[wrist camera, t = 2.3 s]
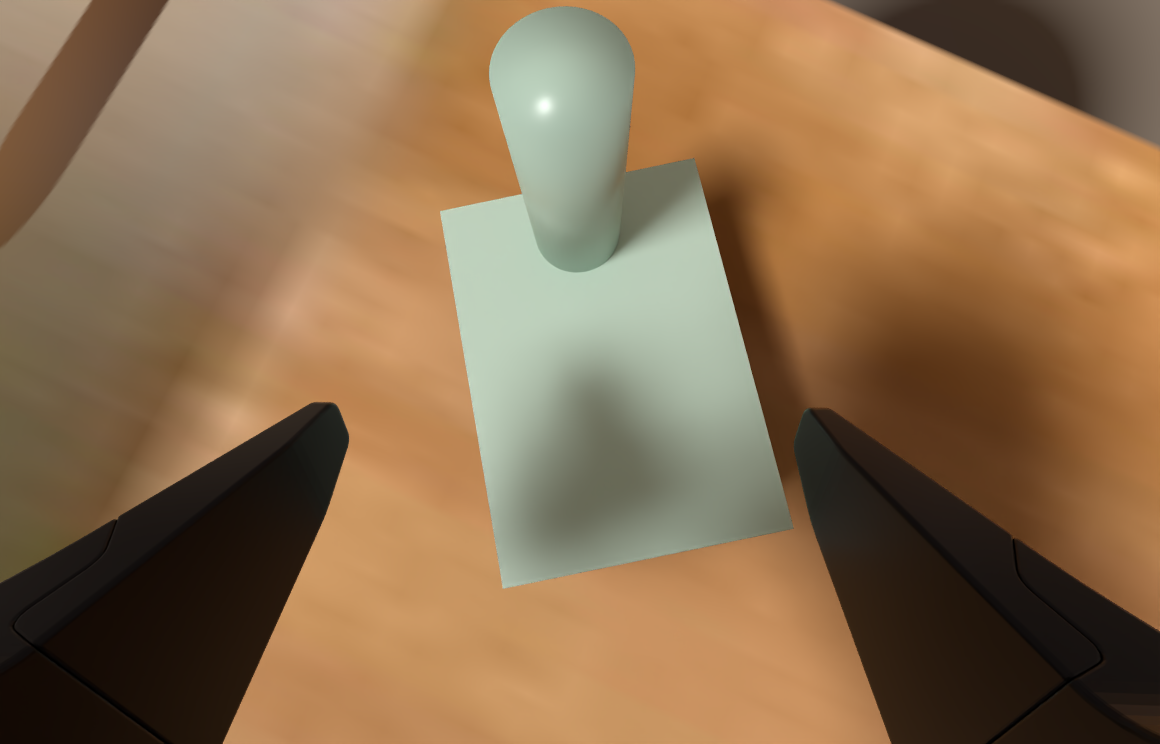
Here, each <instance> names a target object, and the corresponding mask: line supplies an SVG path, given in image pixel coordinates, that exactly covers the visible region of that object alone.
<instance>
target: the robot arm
mask: <svg viewBox="0 0 1160 744" xmlns="http://www.w3.org/2000/svg"><path fill="white" fill-rule="evenodd" d="M348 444H349V434H348V431H347V428H346V426H345V423H344V421H343V418H342V416H341V413H340V410H339V408H338V406H337V405H336V404H334V403H331V402H314V403H311V404H309V405H307V406H305V407H304V408H302V409H300V410H299V411H297V412H295V413H294V414H292V415H290V416H288V417H287V418H285V419H283V420H282V421H280V422H278V423H277V424H275V425H273V426H271V427H270V428H268V429H266V430H265V431H263V432H261V433H260V434H258V435H256V436H255V437H253V438H251V439H249V440H248V441H246V442H244V443H243V444H241V445H239V446H238V447H236V448H234V449H232V450H231V451H229V452H227V453H226V454H224V455H222V456H221V457H219V458H217V459H215V460H214V461H212V462H210V463H209V464H207V465H205V466H204V467H202V468H200V469H198V470H197V471H195V472H193V473H192V474H190V475H188V476H187V477H185V478H183V479H181V480H180V481H178V482H176V483H175V484H173V485H171V486H170V487H168V488H166V489H164V490H163V491H161V492H159V493H158V494H156V495H154V496H153V497H151V498H149V499H147V500H146V501H144V502H142V503H141V504H139V505H137V506H136V507H134V508H132V509H130V510H129V511H127V512H125V513H124V514H122V515H120V516H119V517H118V520H117V519H114V520H112V521H110V522H108V523H106V524H105V525H103V526H101V527H100V528H98V529H96V530H95V531H93V532H91V533H90V534H88V535H86V536H84V537H83V538H81V539H79V540H77V541H76V542H74V543H72V544H70V545H69V546H67V547H65V548H63V549H62V550H60V551H58V552H56V553H55V554H53V555H51V556H49V557H48V558H46V559H44V560H42V561H40V562H38V563H36V564H35V565H33V566H31V567H29V568H27V569H25V570H24V571H22V572H20V573H18V574H16V575H14V576H12V577H11V578H9V579H7V580H5V581H3V582H1V583H0V744H223V741H224V739H225V737H226V735H227V733H228V730H229V728H230V726H231V724H232V722H233V719H234V717H235V715H236V713H237V710H238V708H239V706H240V704H241V702H242V699H243V697H244V695H245V693H246V690H247V688H248V686H249V684H250V682H251V679H252V677H253V675H254V673H255V671H256V668H257V666H258V664H259V662H260V659H261V657H262V655H263V653H264V651H265V648H266V646H267V644H268V642H269V639H270V637H271V635H272V633H273V631H274V628H275V626H276V624H277V622H278V619H279V617H280V615H281V613H282V611H283V608H284V606H285V604H286V602H287V600H288V597H289V595H290V593H291V591H292V588H293V586H294V584H295V582H296V580H297V577H298V575H299V573H300V571H301V568H302V566H303V564H304V562H305V560H306V557H307V555H308V553H309V551H310V549H311V546H312V544H313V542H314V540H315V537H316V535H317V533H318V531H319V529H320V526H321V524H322V522H323V519H324V517H325V515H326V512H327V509H328V506H329V504H330V501H331V498H332V495H333V491H334V488H335V485H336V482H337V479H338V476H339V473H340V470H341V467H342V464H343V460H344V457H345V454H346V451H347V448H348ZM794 452H795V457H796V461H797V465H798V470H799V474H800V478H801V482H802V487H803V491H804V495H805V499H806V504H807V508H808V512H809V516H810V520H811V523H812V526H813V529H814V532H815V535H816V538H817V541H818V544H819V546H820V549H821V552H822V555H823V557H824V560H825V563H826V566H827V568H828V571H829V574H830V577H831V579H832V582H833V585H834V588H835V590H836V593H837V596H838V599H839V601H840V604H841V607H842V610H843V612H844V615H845V618H846V620H847V623H848V626H849V629H850V631H851V634H852V637H853V640H854V642H855V645H856V648H857V651H858V653H859V656H860V659H861V662H862V664H863V667H864V670H865V673H866V675H867V678H868V681H869V684H870V686H871V689H872V692H873V695H874V697H875V700H876V703H877V706H878V708H879V711H880V714H881V717H882V719H883V722H884V725H885V727H886V730H887V733H888V736H889V738H890V741H891V744H1160V631H1158V630H1157V629H1155V628H1153V627H1152V626H1150V625H1148V624H1147V623H1145V622H1144V621H1142V620H1140V619H1139V618H1137V617H1136V616H1134V615H1132V614H1131V613H1129V612H1127V611H1126V610H1124V609H1123V608H1121V607H1120V606H1118V605H1116V604H1115V603H1113V602H1112V601H1110V600H1109V599H1107V598H1105V597H1104V596H1102V595H1101V594H1099V593H1097V592H1096V591H1094V590H1093V589H1091V588H1090V587H1088V586H1086V585H1085V584H1083V583H1082V582H1080V581H1079V580H1077V579H1076V578H1074V577H1073V576H1071V575H1070V574H1068V573H1067V572H1065V571H1064V570H1062V569H1061V568H1059V567H1058V566H1056V565H1055V564H1053V563H1052V562H1051V561H1049V560H1048V559H1046V558H1045V557H1043V556H1042V555H1040V554H1039V553H1037V552H1036V551H1034V550H1033V549H1032V548H1030V547H1029V546H1027V545H1026V544H1024V543H1023V542H1022V541H1020V540H1019V539H1016V538H1014V539H1013V537H1012V535H1011V534H1010V533H1008V532H1007V531H1005V530H1004V529H1003V528H1001V527H1000V526H998V525H997V524H995V523H994V522H993V521H991V520H990V519H988V518H987V517H985V516H984V515H982V514H981V513H980V512H978V511H977V510H975V509H974V508H972V507H971V506H969V505H968V504H967V503H965V502H964V501H962V500H961V499H959V498H958V497H957V496H955V495H954V494H952V493H951V492H949V491H948V490H946V489H945V488H944V487H942V486H941V485H939V484H938V483H936V482H935V481H934V480H932V479H931V478H929V477H928V476H926V475H925V474H923V473H922V472H921V471H919V470H918V469H916V468H915V467H913V466H912V465H911V464H909V463H908V462H906V461H905V460H903V459H902V458H900V457H899V456H898V455H896V454H895V453H893V452H892V451H890V450H889V449H887V448H886V447H885V446H883V445H882V444H880V443H879V442H877V441H876V440H875V439H873V438H872V437H870V436H869V435H867V434H866V433H864V432H863V431H862V430H860V429H859V428H857V427H856V426H854V425H853V424H852V423H850V422H849V421H847V420H846V419H844V418H843V417H841V416H840V415H839V414H837V413H836V412H834V411H833V410H831V409H829V408H808V409H806V410H805V411H804V413H803V415H802V418H801V421H800V424H799V427H798V430H797V433H796V436H795V440H794Z"/></svg>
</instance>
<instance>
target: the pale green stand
mask: <svg viewBox="0 0 1160 744" xmlns="http://www.w3.org/2000/svg"><path fill="white" fill-rule="evenodd" d="M634 77H635V61H634V55H633V52H632V49H631V46H630V44H629V42H628V40H627V39H626V37H625V36H624V34H623V33H622V32H621V30H620V29H619V28H618V27H617V26H616V25H615V24H613V23H612V22H611V21H610V20H608V19H607V18H605V17H603V16H602V15H600V14H597V13H595V12H593V11H590V10H587V9H583V8H578V7H567V6H565V7H553V8H547V9H543V10H539V11H537V12H534V13H532V14H529V15H528V16H526V17H524V18H522V19H521V20H519V21H518V22H516V23H515V24H514V25H513V26H511V27H510V28H509V29H508V30H507V31H506V32H505V34H504V35H503V36H502V37H501V39H500V40H499V42H498V43H497V45H496V47H495V49H494V52H493V55H492V58H491V62H490V67H489V79H490V86H491V89H492V93H493V96H494V100H495V103H496V107H497V110H498V113H499V117H500V120H501V124H502V127H503V130H504V134H505V137H506V141H507V144H508V148H509V151H510V154H511V158H512V161H513V165H514V168H515V171H516V175H517V178H518V182H519V185H520V188H521V192H522V194H520V195H516V196H511V197H506V198H501V199H496V200H492V201H487V202H482V203H477V204H472V205H468V206H463V207H458V208H453V209H449V210H444V211H440V213H441V219H442V225H443V231H444V237H445V243H446V249H447V255H448V261H449V267H450V273H451V279H452V285H453V291H454V297H455V303H456V309H457V315H458V321H459V327H460V333H461V339H462V345H463V351H464V357H465V363H466V369H467V375H468V381H469V387H470V393H471V399H472V405H473V411H474V417H475V423H476V429H477V435H478V441H479V447H480V453H481V459H482V465H483V471H484V477H485V483H486V489H487V495H488V501H489V507H490V513H491V519H492V525H493V531H494V537H495V543H496V549H497V555H498V561H499V567H500V573H501V579H502V585H503V589H504V588H509V587H514V586H519V585H524V584H528V583H533V582H538V581H543V580H548V579H553V578H557V577H562V576H567V575H572V574H577V573H582V572H587V571H591V570H596V569H601V568H606V567H611V566H616V565H620V564H625V563H630V562H635V561H640V560H645V559H649V558H654V557H659V556H664V555H669V554H674V553H679V552H683V551H688V550H693V549H698V548H703V547H708V546H712V545H717V544H722V543H727V542H732V541H737V540H742V539H746V538H751V537H756V536H761V535H766V534H771V533H775V532H780V531H785V530H790V529H794V528H793V524H792V520H791V516H790V513H789V509H788V505H787V502H786V498H785V494H784V490H783V487H782V483H781V479H780V476H779V472H778V468H777V464H776V461H775V457H774V453H773V449H772V446H771V442H770V438H769V435H768V431H767V427H766V423H765V420H764V416H763V412H762V409H761V405H760V401H759V397H758V394H757V390H756V386H755V382H754V379H753V375H752V371H751V368H750V364H749V360H748V356H747V353H746V349H745V345H744V342H743V338H742V334H741V330H740V327H739V323H738V319H737V315H736V312H735V308H734V304H733V301H732V297H731V293H730V289H729V286H728V282H727V278H726V275H725V271H724V267H723V263H722V260H721V256H720V252H719V248H718V245H717V241H716V237H715V234H714V230H713V226H712V222H711V219H710V215H709V211H708V208H707V204H706V200H705V196H704V193H703V189H702V185H701V181H700V178H699V174H698V170H697V167H696V163H695V159H694V158H693V159H688V160H683V161H678V162H673V163H669V164H664V165H659V166H654V167H650V168H645V169H640V170H635V171H630V172H626V162H627V152H628V141H629V130H630V120H631V109H632V98H633V88H634Z"/></svg>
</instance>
